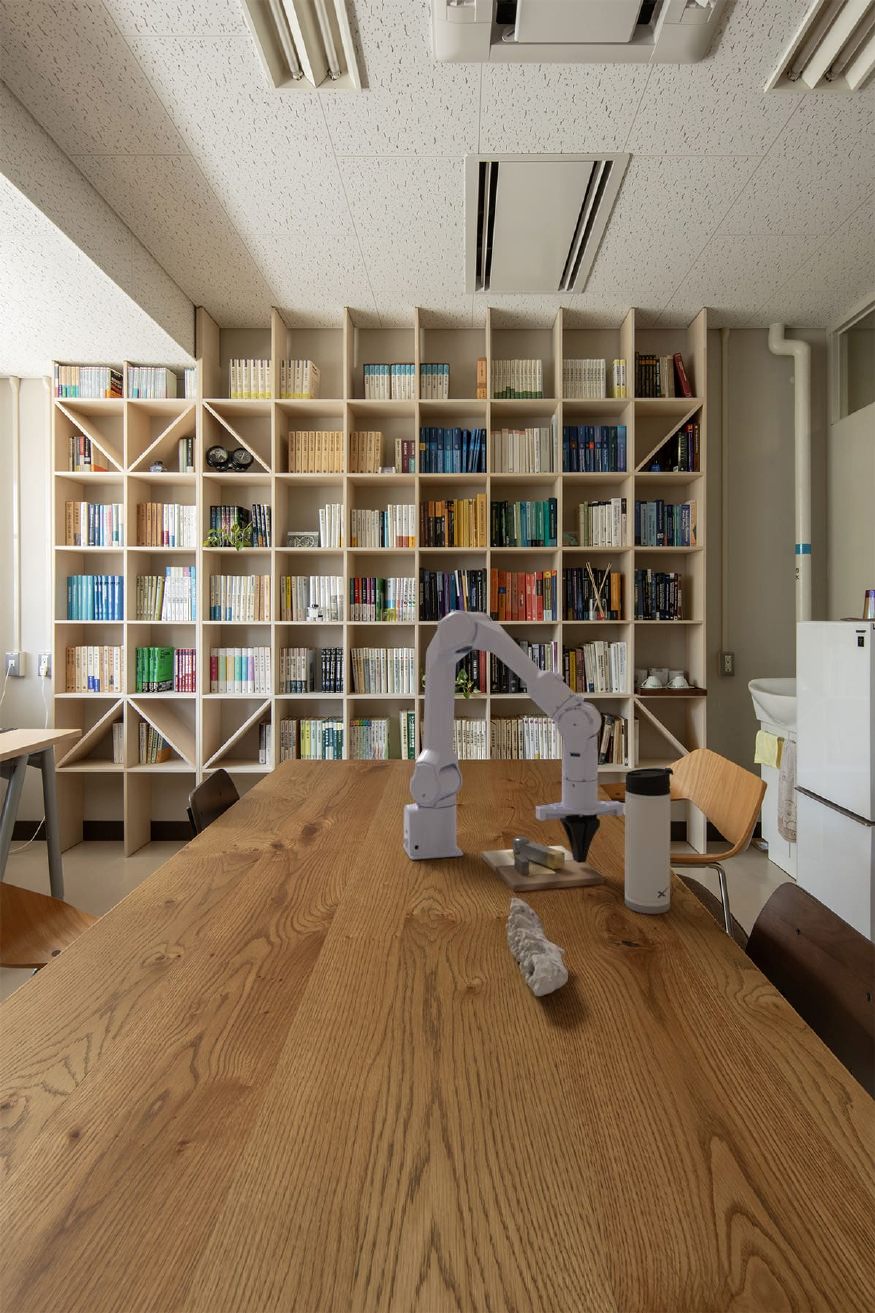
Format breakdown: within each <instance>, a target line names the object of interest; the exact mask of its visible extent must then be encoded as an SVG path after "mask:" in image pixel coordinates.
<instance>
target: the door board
mask: <svg viewBox="0 0 875 1313" xmlns="http://www.w3.org/2000/svg"><path fill="white" fill-rule="evenodd" d="M548 847H549V848H552V849H555V850H559V851H562V852H565V866H564V867H560V868H557V869H553V868H550V867H548V866H546V865H543V864H541V863H538V862H535V861H533V860H530V859H528V858H525V857H524V856H523V855H514V854H513V848H512V849H502V850H501V849H499V850H498V849H497V850H488V851H486V850H485V851H481V858H482V859H483V861H484V862H485V863H486V864H487V865H488V866H489V867H490V868H491V869H492V870H493V872H495V873H496V875H497V876H499V878H500V879H501V880H502V881H503V882H504V883H505V884H506V885H507V886H508V888H509V889H510V890H511V891H512V892H514V893H515V892H524V891H536V890H545V889H546V890H547V889H557V888H558V889H559V888H569V887H580V886H589V885H590V886H593V885H601V884H605V877H604V876H603V875H602V874H600V873H599V872H598V871H597V870H595V869H593V868H592V867H591V866H590V865H588V864H587V863H586V862H582V863H578V862H576V861H575V860H574V859H573V855H572V852H571V851H570V850H568V849H566V848H565V847H564V846H562V845H552V846H548Z"/></svg>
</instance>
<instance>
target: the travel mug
mask: <svg viewBox="0 0 875 1313" xmlns="http://www.w3.org/2000/svg"><path fill="white" fill-rule="evenodd" d="M670 775H671V776H674V770H673V769H672V768H671V767H664V768H663V767H662V768H661V767H657V768H656V767H649V768H640V769H639V768H638V769H634V770H630V771H628V772H626V775H625V790H624V791H625V796H624V809H625V810H624V905H625V906H626V907H627V908H628V909H630V910H632V911H634V912H637V913H640V914H646V915H647V914H648V915H659V914H664V913H666V912H668V911H669V910H670V908H671V897H670V896H671V778H670Z"/></svg>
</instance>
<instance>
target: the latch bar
mask: <svg viewBox="0 0 875 1313" xmlns="http://www.w3.org/2000/svg"><path fill="white" fill-rule="evenodd" d="M549 847H550V846H546V845H544V844H541V843H537V842H534V841H531V838H530V837H526V836H516V837H513V839H512V849H513V854H514V855H523V856H524V857H525V858H528V859H530V860H533V861H535V862H538V863H541V864H543V865H546V866H548V867H550V868H553V869H557V868H560V867H564V866H565V852H562V851H559V850H555V849H552V848H549Z"/></svg>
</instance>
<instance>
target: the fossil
mask: <svg viewBox="0 0 875 1313" xmlns="http://www.w3.org/2000/svg"><path fill="white" fill-rule="evenodd" d="M510 900H511V902H510V903H511V904H510V907H509V909H510V912H509V914H510V915H509V916H508V917H507V920H508V922H507V923H506V924H505V929H506V933H507V936H506V938H507V942H508V946H509V949H510V953H511V954H512V955H513V956H514V958H515V961H516V963H519V970H520V974H521V976H522V977H523V979H524V980H525V983H526V984H527V985H528V986H529V988H530V989H531V990H532V992H533V994H534V996H535V997H542V996H544V995H548V994H551V993H553V992H554V991H555V990H557V989H561V988H562V987H563V986H564V985H565V984H566V983H567V982H568V979H569V972H568V970H567V968H566V967H565V964H564V962H563V959H562V957H563V956H564V955H565V954H566V950H564V949H563V948H561V947H560V946H558V945H557V944H556V943H553V942H551V941H549V940H548V939H547V937H546V936H545V932H544V927H543V923H542V922H541V919H540V917H539V916H538V914H537V912H535V910H534V909H533V908H532V907H530V905H529V904H528V903H527V902H525V901H524V900H522V899H521V898H516V897H511V898H510Z"/></svg>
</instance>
